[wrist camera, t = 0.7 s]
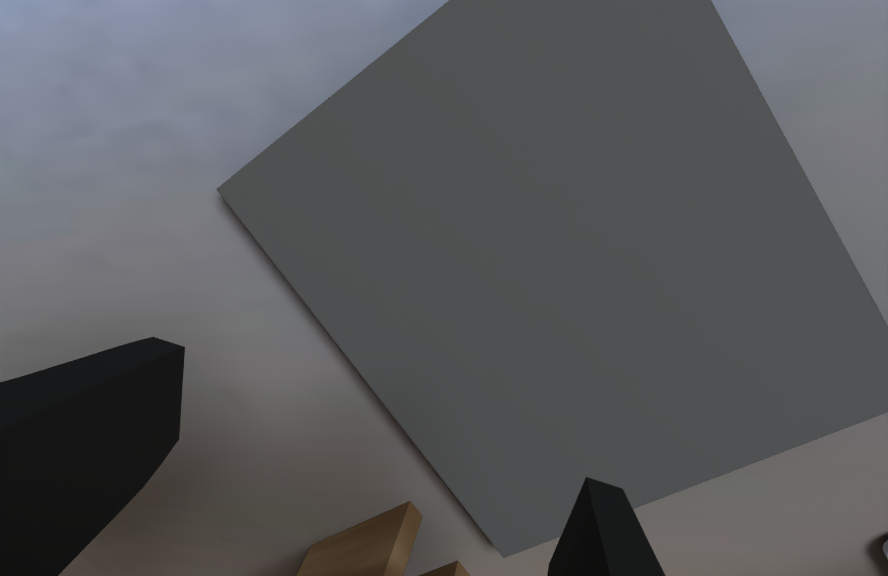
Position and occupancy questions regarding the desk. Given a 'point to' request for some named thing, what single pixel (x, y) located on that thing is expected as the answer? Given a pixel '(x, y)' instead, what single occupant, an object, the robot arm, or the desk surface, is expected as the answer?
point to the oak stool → (372, 548)
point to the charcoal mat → (570, 256)
